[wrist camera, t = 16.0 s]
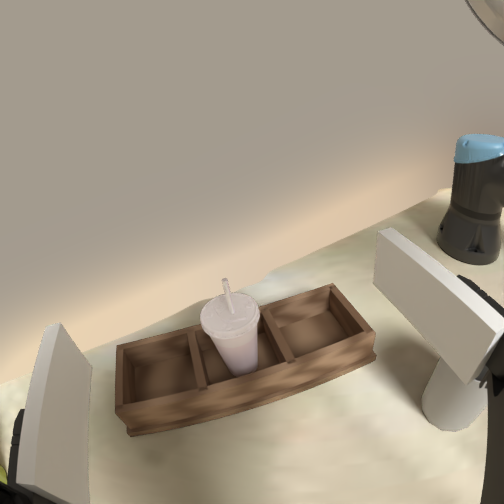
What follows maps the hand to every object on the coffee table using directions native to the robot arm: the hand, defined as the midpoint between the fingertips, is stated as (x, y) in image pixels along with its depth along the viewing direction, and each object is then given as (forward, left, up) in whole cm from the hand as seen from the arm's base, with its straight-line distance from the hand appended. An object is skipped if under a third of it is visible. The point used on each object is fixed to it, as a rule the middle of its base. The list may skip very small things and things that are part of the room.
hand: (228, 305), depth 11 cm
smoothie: (-1, -16, -24) cm, 29 cm away
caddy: (-1, -16, -25) cm, 29 cm away
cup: (-22, +1, -25) cm, 33 cm away
